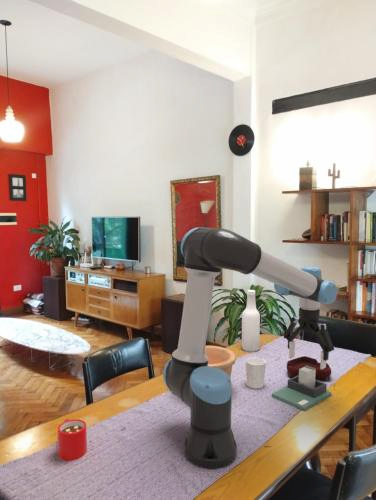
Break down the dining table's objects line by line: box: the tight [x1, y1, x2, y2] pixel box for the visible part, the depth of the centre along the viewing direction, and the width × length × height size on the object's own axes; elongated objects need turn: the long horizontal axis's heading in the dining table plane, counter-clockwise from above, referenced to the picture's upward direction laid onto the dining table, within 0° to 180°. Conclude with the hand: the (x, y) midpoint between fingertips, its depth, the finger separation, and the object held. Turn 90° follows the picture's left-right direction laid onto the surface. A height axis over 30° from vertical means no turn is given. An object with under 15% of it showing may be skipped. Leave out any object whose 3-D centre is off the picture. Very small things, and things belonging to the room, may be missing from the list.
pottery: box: [205, 345, 237, 379], centre depth 152 cm, size 22×22×14 cm
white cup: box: [245, 356, 267, 390], centre depth 157 cm, size 8×8×10 cm
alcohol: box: [241, 289, 261, 353], centre depth 197 cm, size 9×9×30 cm
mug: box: [57, 418, 88, 462], centre depth 115 cm, size 8×12×8 cm, turn 34°
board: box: [271, 375, 333, 412], centre depth 148 cm, size 18×14×4 cm
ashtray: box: [286, 355, 332, 381], centre depth 169 cm, size 18×16×5 cm
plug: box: [299, 365, 316, 389], centre depth 151 cm, size 5×4×8 cm
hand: (306, 362), depth 150 cm, fingers open, 13 cm apart
